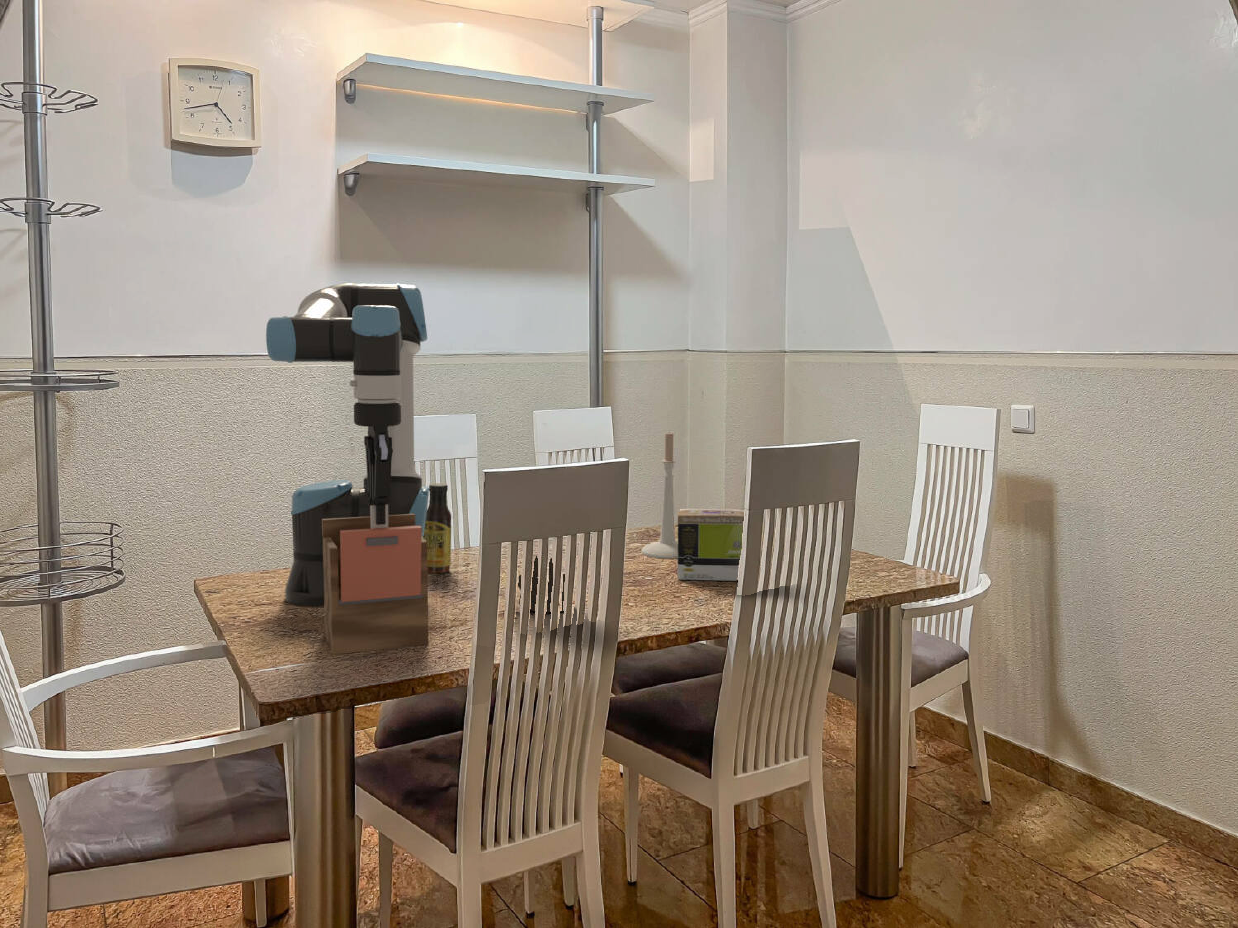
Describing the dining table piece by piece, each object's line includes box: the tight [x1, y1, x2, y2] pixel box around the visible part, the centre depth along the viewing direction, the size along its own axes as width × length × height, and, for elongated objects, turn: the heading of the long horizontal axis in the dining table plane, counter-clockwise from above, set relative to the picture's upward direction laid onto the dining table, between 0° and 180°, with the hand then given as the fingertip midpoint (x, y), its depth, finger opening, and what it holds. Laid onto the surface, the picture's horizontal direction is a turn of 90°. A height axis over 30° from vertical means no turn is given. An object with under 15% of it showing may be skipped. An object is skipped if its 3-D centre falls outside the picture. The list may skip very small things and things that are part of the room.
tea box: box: [677, 507, 744, 582], centre depth 225 cm, size 15×10×15 cm, turn 84°
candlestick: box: [640, 432, 678, 560], centre depth 247 cm, size 13×13×30 cm
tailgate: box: [339, 526, 422, 606], centre depth 168 cm, size 2×14×13 cm, turn 113°
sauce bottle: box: [423, 482, 452, 575], centre depth 226 cm, size 7×6×20 cm
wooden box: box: [322, 514, 430, 655], centre depth 175 cm, size 11×16×21 cm
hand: (379, 542), depth 169 cm, fingers closed
